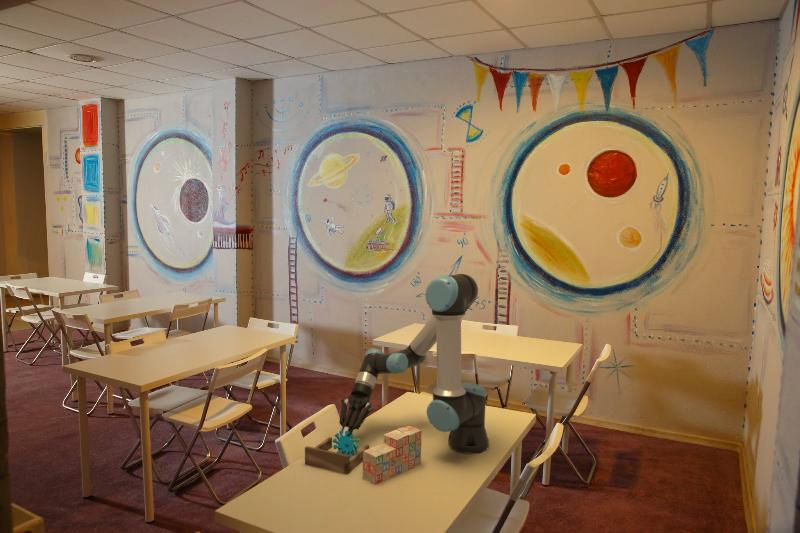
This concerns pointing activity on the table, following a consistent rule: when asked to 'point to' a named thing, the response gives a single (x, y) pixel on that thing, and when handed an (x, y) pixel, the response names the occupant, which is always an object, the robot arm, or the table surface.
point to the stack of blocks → (393, 455)
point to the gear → (345, 443)
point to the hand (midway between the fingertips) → (341, 445)
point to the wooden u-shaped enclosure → (332, 458)
